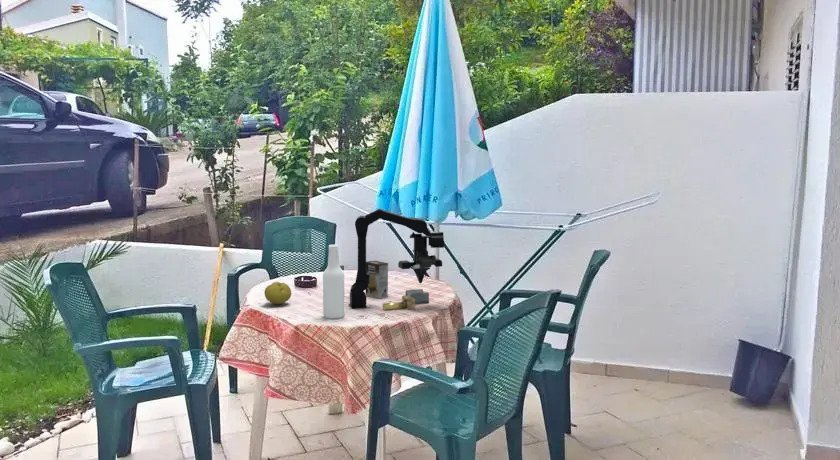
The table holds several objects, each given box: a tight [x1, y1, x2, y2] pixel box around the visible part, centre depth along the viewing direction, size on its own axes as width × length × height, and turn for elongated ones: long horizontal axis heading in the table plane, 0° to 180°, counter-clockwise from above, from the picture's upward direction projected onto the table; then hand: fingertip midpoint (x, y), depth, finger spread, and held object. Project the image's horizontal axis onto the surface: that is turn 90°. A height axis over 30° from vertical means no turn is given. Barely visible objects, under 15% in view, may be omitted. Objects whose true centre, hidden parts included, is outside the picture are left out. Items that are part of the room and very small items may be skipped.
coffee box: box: [365, 260, 389, 300], centre depth 340 cm, size 9×6×16 cm
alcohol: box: [322, 243, 346, 320], centre depth 302 cm, size 9×9×30 cm
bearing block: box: [401, 294, 416, 311], centre depth 320 cm, size 3×8×4 cm, turn 21°
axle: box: [382, 301, 405, 311], centre depth 317 cm, size 9×3×3 cm, turn 111°
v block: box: [405, 288, 430, 305], centre depth 331 cm, size 8×9×5 cm
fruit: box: [264, 281, 292, 306], centre depth 323 cm, size 11×12×10 cm
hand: (420, 283), depth 321 cm, fingers closed
